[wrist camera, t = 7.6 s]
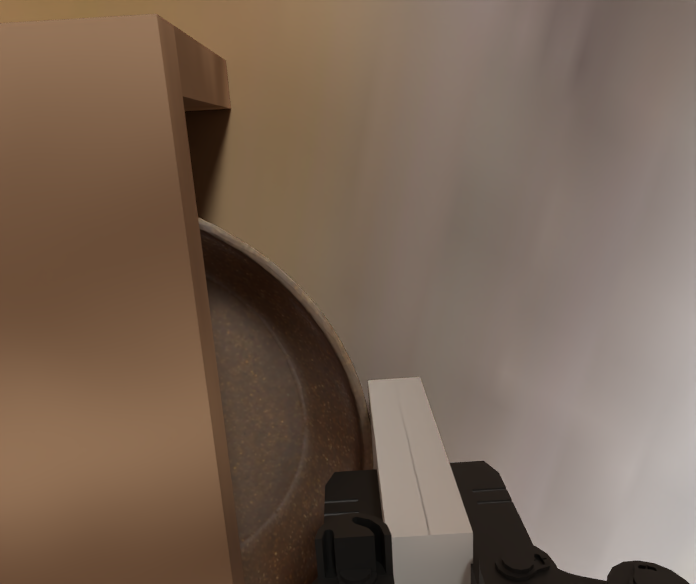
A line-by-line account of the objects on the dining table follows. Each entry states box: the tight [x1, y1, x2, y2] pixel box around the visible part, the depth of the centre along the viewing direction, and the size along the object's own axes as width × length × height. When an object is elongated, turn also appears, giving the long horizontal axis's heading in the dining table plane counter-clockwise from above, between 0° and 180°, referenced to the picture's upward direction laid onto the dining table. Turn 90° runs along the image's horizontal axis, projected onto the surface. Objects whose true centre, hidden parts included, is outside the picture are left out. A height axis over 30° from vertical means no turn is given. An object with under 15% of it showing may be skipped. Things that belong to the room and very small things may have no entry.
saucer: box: [198, 217, 373, 584], centre depth 17 cm, size 15×15×3 cm
